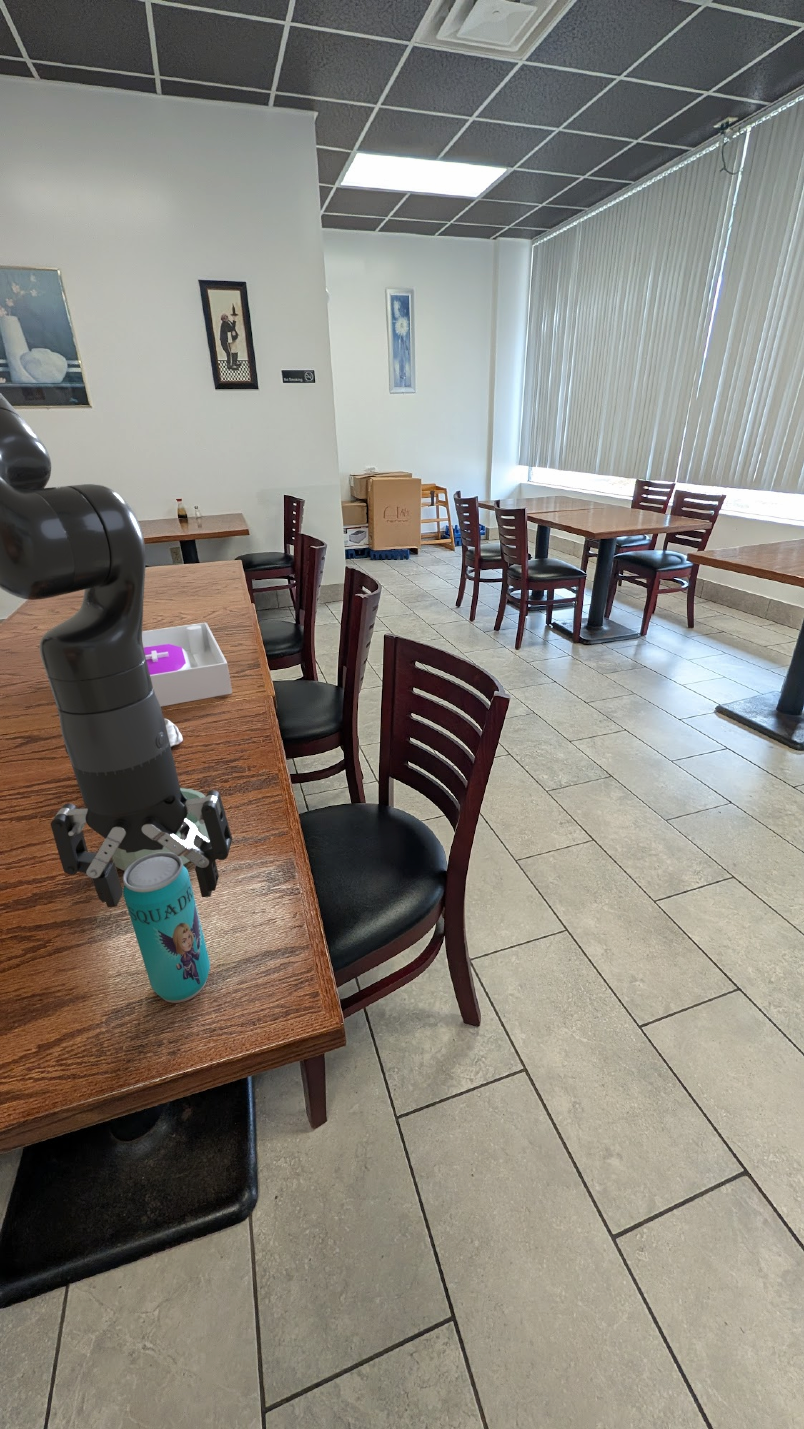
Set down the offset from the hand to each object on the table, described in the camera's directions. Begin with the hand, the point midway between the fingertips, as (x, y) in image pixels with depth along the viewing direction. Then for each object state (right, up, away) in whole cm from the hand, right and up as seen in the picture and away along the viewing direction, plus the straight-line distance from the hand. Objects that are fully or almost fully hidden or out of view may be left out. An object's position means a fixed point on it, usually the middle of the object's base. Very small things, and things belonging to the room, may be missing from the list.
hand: (162, 896), depth 55 cm
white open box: (-32, +26, +84) cm, 94 cm away
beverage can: (0, -11, +5) cm, 12 cm away
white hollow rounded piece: (-21, +12, +53) cm, 58 cm away
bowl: (-10, -1, +26) cm, 28 cm away
